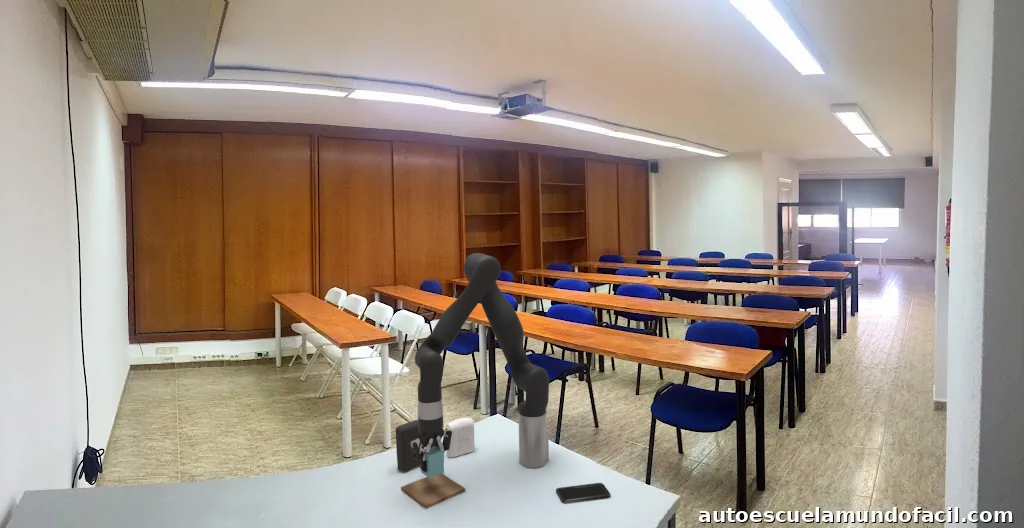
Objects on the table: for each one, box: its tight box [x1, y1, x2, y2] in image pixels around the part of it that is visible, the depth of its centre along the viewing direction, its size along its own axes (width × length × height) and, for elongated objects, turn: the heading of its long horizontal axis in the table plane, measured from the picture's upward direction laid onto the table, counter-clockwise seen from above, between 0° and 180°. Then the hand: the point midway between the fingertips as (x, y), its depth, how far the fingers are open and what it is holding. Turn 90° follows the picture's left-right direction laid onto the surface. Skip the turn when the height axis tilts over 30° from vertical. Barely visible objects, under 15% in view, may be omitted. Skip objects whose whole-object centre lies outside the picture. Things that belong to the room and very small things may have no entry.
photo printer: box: [445, 417, 476, 458], centre depth 189 cm, size 10×4×12 cm, turn 123°
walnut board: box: [400, 473, 466, 510], centre depth 164 cm, size 14×14×1 cm
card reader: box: [395, 419, 421, 473], centre depth 179 cm, size 9×4×15 cm, turn 136°
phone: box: [555, 482, 611, 505], centre depth 161 cm, size 8×1×15 cm
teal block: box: [420, 447, 445, 478], centre depth 163 cm, size 5×5×7 cm
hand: (432, 467), depth 164 cm, fingers closed on teal block, 5 cm apart
